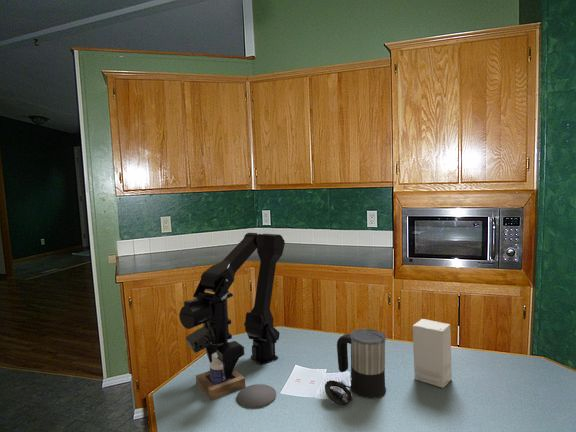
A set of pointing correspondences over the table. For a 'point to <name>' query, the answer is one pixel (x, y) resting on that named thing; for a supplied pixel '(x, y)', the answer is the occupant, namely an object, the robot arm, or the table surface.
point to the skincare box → (432, 352)
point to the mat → (256, 396)
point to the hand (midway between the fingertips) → (220, 371)
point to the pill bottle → (217, 371)
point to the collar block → (220, 389)
